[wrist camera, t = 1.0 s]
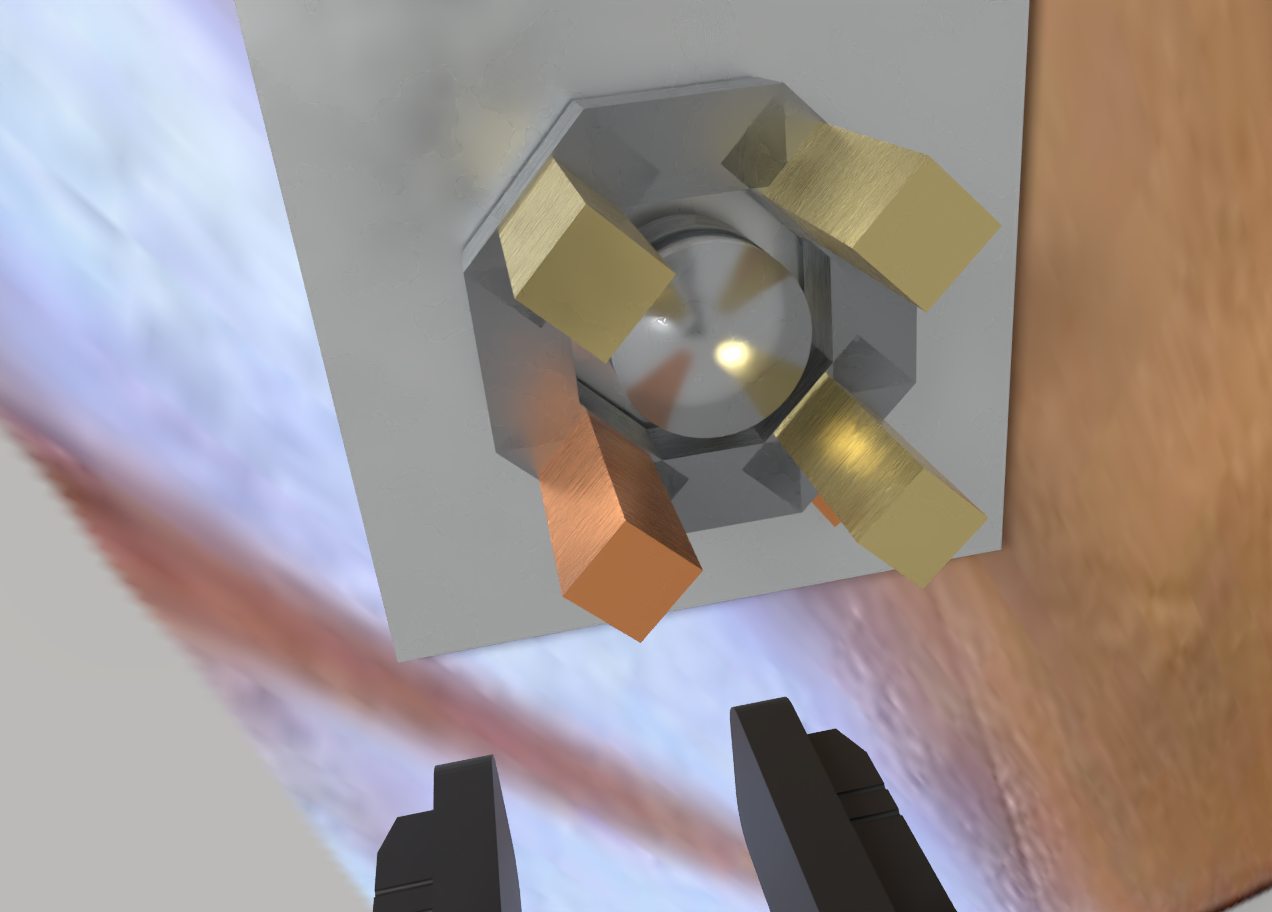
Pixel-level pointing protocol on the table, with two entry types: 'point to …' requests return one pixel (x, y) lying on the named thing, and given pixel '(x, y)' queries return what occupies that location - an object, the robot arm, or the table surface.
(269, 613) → the table surface
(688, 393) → the base plate
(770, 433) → the octagonal frame
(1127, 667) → the table surface
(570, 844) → the table surface
